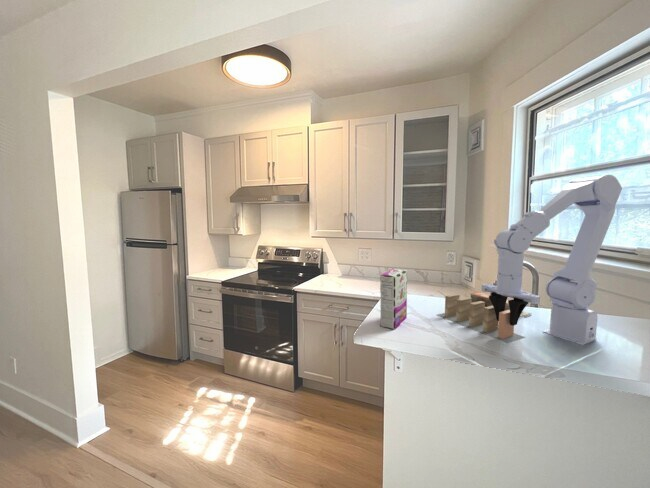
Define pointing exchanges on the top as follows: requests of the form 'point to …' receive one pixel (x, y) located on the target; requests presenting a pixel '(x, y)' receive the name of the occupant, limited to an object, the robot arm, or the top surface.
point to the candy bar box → (393, 298)
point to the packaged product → (485, 298)
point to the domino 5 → (505, 325)
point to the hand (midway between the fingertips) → (506, 322)
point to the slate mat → (480, 329)
